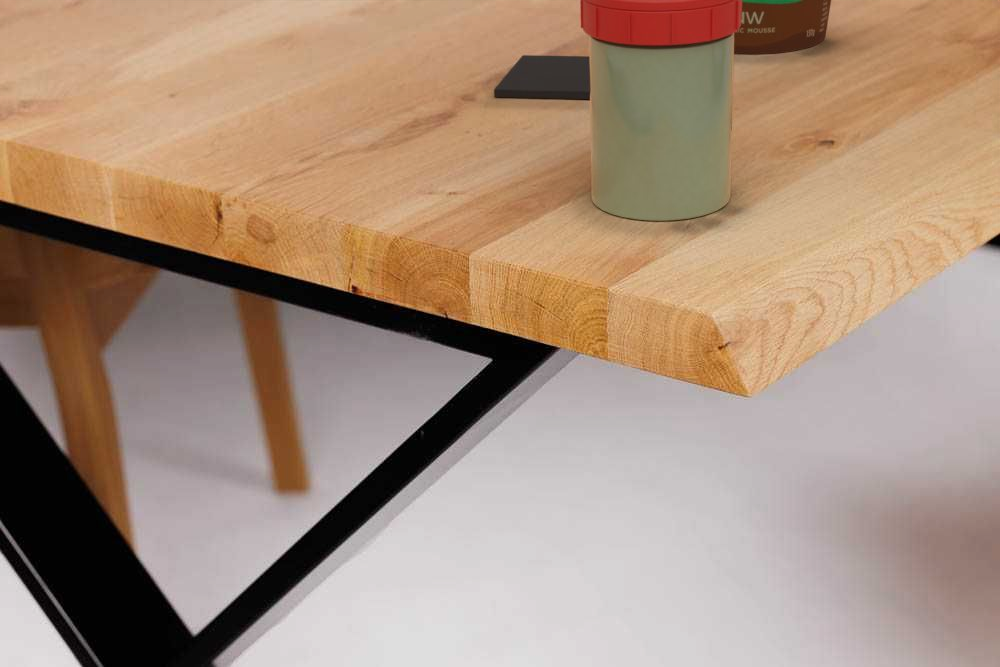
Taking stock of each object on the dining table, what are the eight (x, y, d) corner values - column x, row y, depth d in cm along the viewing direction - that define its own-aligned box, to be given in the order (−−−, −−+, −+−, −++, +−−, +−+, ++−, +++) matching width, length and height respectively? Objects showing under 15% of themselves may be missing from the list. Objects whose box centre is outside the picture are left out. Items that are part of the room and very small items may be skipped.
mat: (646, 64, 91) (646, 57, 91) (627, 100, 84) (627, 92, 84) (522, 62, 93) (522, 54, 93) (494, 97, 86) (493, 89, 86)
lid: (746, 9, 68) (748, -32, 67) (734, 47, 62) (735, 2, 61) (596, 8, 70) (596, -32, 69) (569, 44, 63) (568, 1, 62)
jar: (735, 176, 71) (741, -20, 67) (723, 224, 65) (728, 12, 61) (603, 172, 73) (601, -21, 69) (580, 218, 67) (575, 11, 63)
